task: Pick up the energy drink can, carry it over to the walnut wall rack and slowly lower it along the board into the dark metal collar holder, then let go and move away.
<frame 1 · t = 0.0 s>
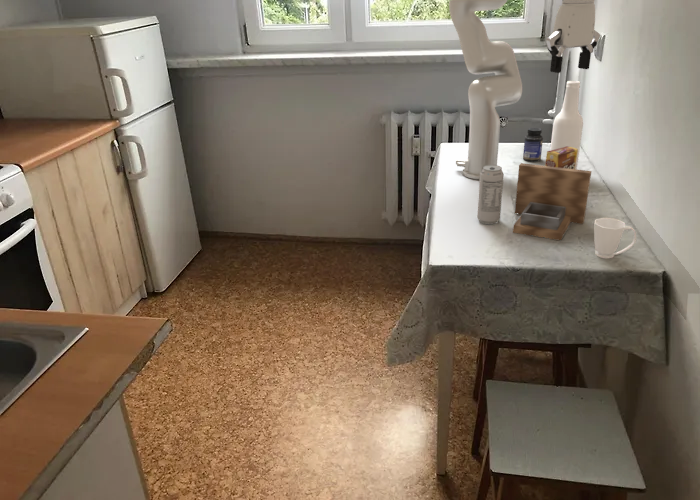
hand: (569, 70, 151), 37 cm above the table, tool pointing down, fingers open, 9 cm apart
energy drink can: (488, 221, 158), on the table
alcohol: (561, 176, 190), on the table
candy box: (555, 201, 170), on the table
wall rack: (541, 227, 152), on the table
pill bottle: (531, 160, 207), on the table
cup: (610, 255, 137), on the table
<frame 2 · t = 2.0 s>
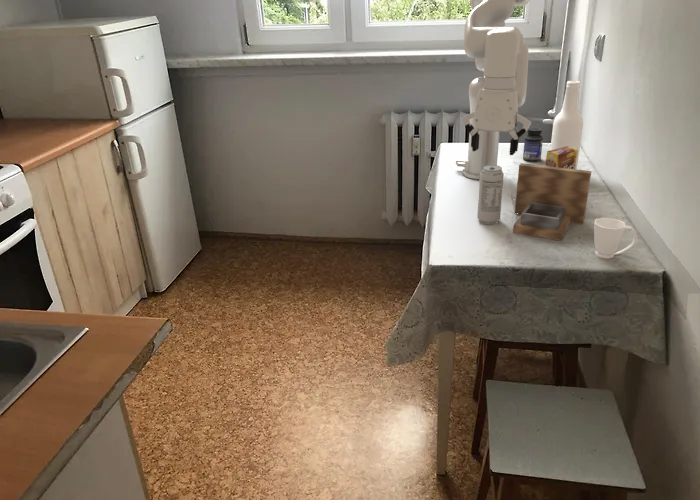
hand: (493, 152, 149), 19 cm above the table, tool pointing down, fingers open, 9 cm apart
nothing on the table moved.
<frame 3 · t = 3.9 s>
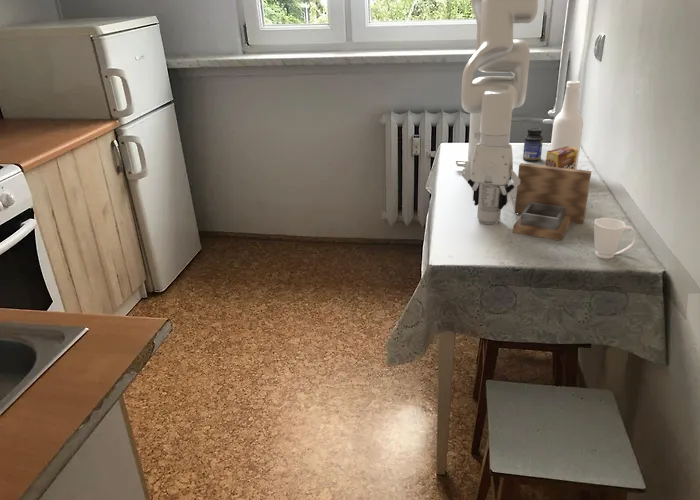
hand: (489, 204, 156), 5 cm above the table, tool pointing down, fingers closed on energy drink can, 6 cm apart
energy drink can: (488, 221, 158), on the table, touching gripper
everything else where it was.
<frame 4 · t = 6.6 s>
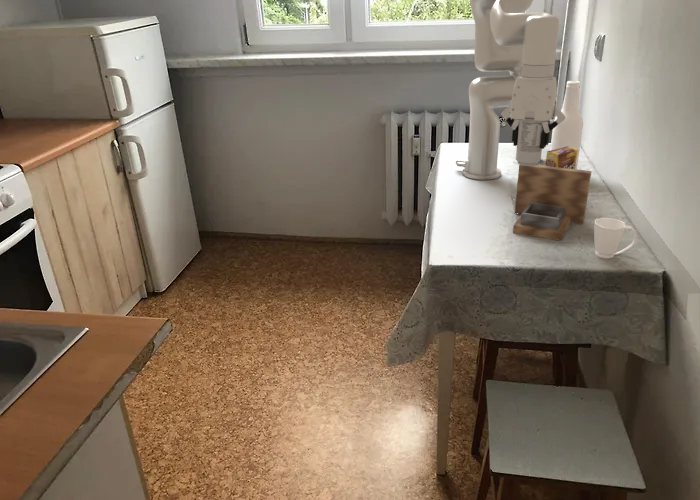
hand: (529, 145, 145), 22 cm above the table, tool pointing down, fingers closed on energy drink can, 6 cm apart
energy drink can: (527, 164, 147), point 17 cm above the table, touching gripper
everything else where it was.
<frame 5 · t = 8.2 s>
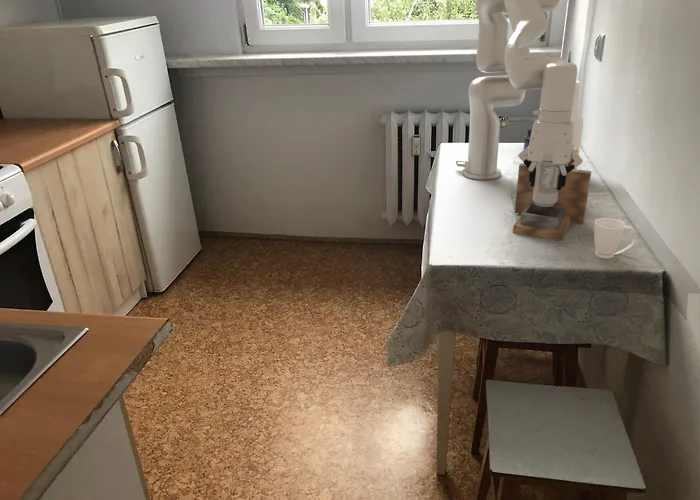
hand: (546, 186, 147), 11 cm above the table, tool pointing down, fingers closed on energy drink can, 6 cm apart
energy drink can: (544, 204, 149), point 7 cm above the table, touching gripper
everything else where it was.
when the fingers open (8 cm above the table, at t = 9.4 s): energy drink can drops 1 cm, resting on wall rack.
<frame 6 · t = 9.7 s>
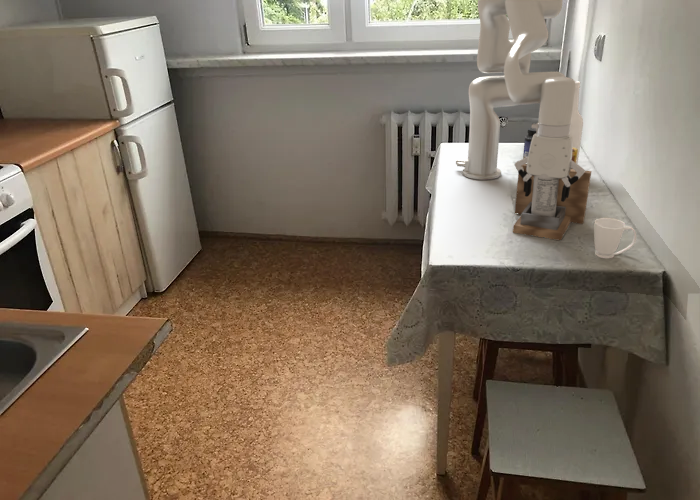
hand: (545, 197, 148), 9 cm above the table, tool pointing down, fingers open, 8 cm apart
energy drink can: (542, 221, 151), point 2 cm above the table, touching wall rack
everything else where it was.
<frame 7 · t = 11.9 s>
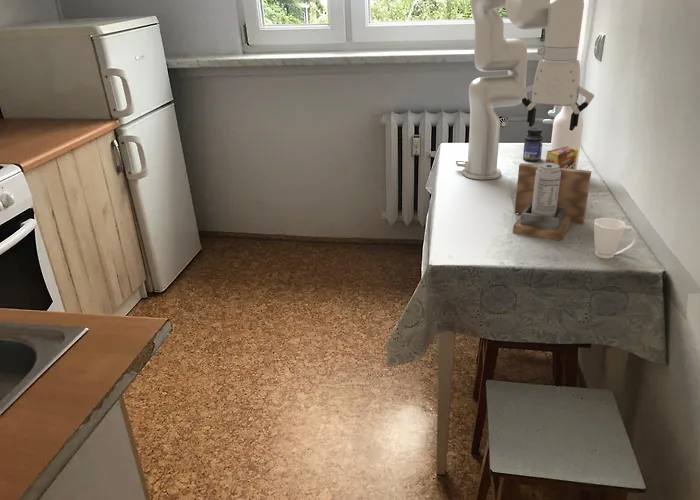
hand: (551, 127, 142), 26 cm above the table, tool pointing down, fingers open, 9 cm apart
nothing on the table moved.
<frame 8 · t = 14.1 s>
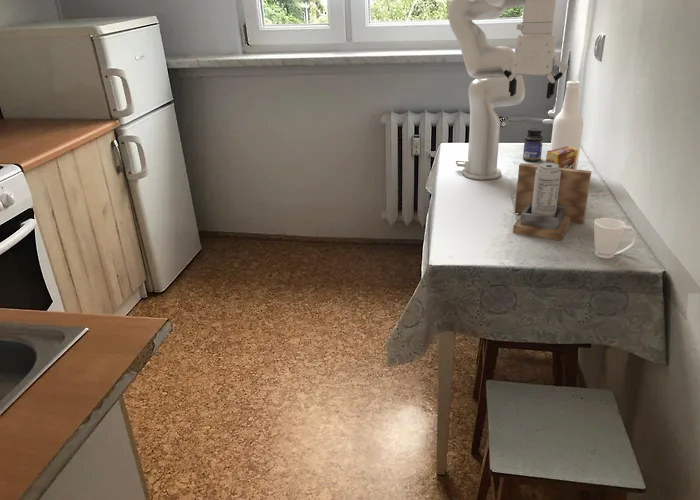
hand: (530, 96, 157), 30 cm above the table, tool pointing down, fingers open, 9 cm apart
nothing on the table moved.
at the end: energy drink can 0.1 cm off-centre on the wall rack, point 1.8 cm above the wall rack's base; energy drink can tilted 0°; the gripper is holding nothing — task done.
